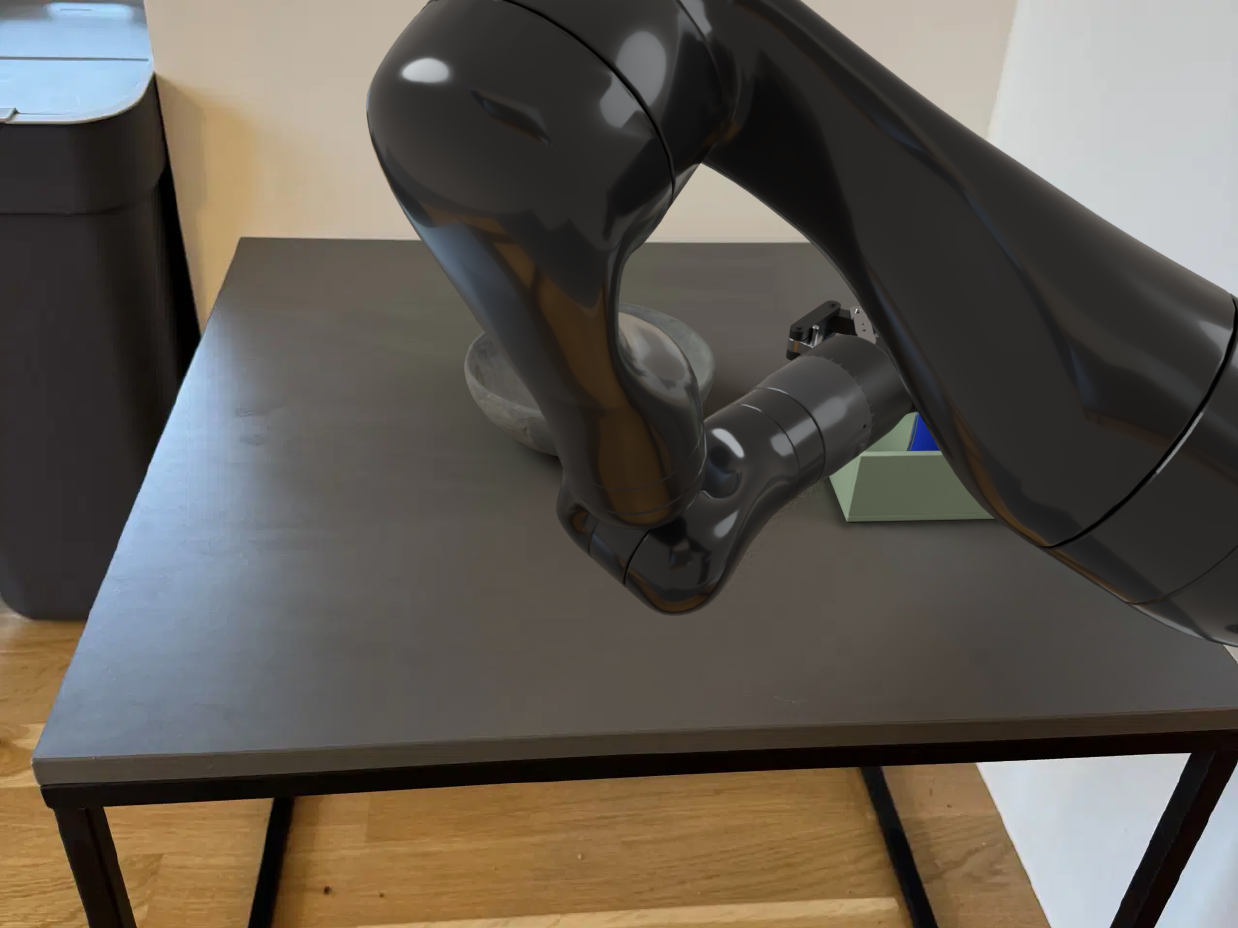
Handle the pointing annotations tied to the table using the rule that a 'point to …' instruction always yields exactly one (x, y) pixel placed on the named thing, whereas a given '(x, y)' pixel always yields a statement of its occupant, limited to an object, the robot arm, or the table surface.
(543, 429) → the bowl
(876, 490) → the open box
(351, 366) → the table surface
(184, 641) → the table surface
